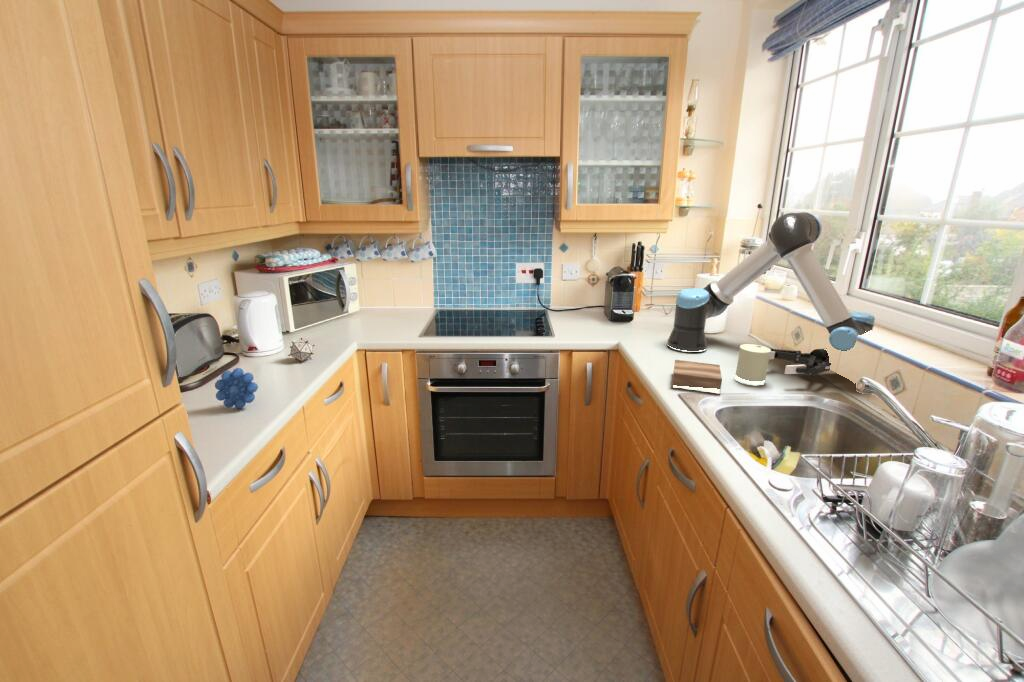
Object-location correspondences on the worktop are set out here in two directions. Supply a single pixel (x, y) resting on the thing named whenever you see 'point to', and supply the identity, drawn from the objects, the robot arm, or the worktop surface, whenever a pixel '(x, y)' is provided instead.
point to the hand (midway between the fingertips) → (770, 362)
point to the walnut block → (697, 374)
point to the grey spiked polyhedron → (301, 350)
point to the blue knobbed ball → (236, 388)
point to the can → (753, 362)
